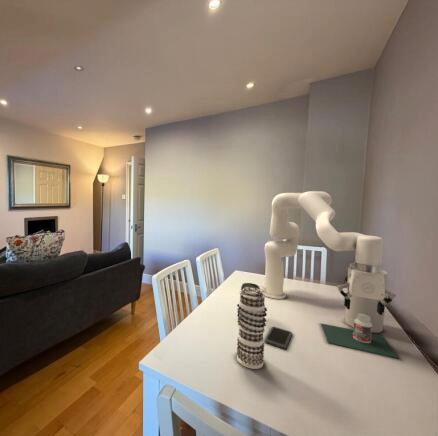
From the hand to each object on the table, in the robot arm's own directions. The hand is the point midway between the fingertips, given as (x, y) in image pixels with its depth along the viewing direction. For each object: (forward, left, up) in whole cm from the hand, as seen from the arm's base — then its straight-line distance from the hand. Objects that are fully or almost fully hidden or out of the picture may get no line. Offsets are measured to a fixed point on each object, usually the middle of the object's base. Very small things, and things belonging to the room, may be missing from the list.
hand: (363, 310), depth 95 cm
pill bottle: (0, 0, -12) cm, 12 cm away
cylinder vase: (+4, +15, -12) cm, 20 cm away
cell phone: (-29, -13, -12) cm, 34 cm away
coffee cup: (-41, +1, -12) cm, 43 cm away
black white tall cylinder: (-38, -33, -12) cm, 52 cm away
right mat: (-2, 0, -12) cm, 12 cm away
